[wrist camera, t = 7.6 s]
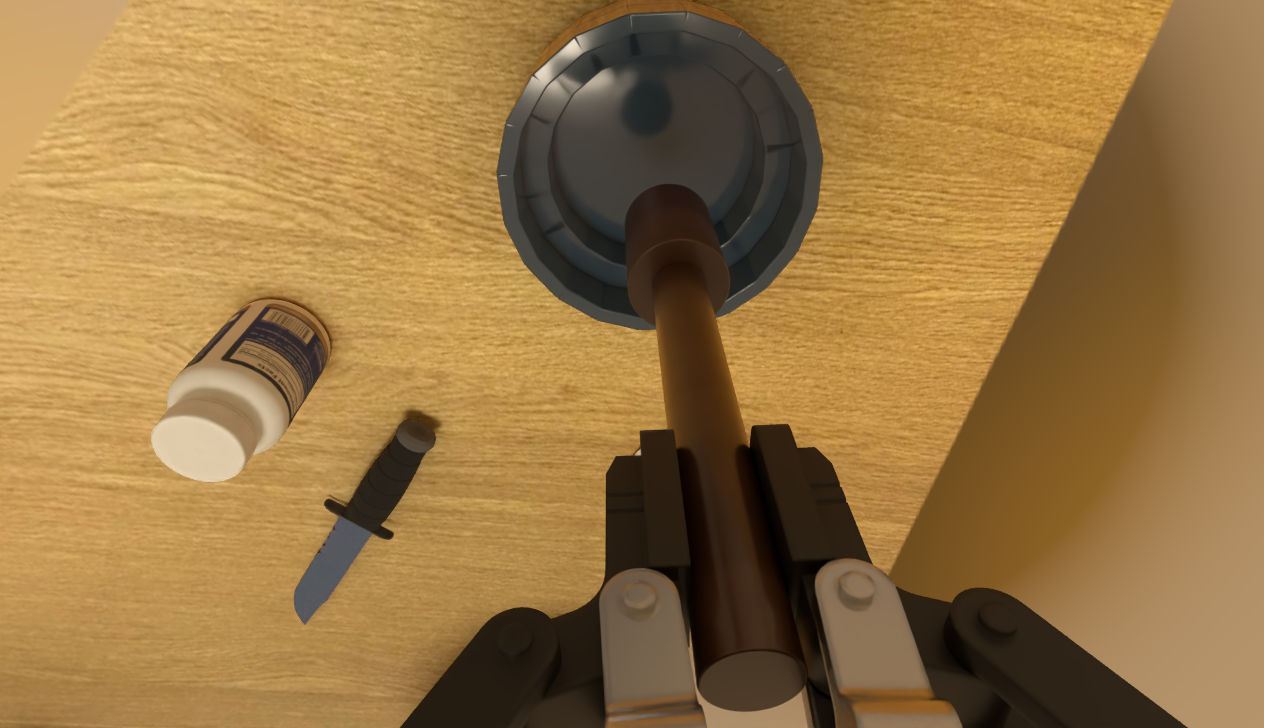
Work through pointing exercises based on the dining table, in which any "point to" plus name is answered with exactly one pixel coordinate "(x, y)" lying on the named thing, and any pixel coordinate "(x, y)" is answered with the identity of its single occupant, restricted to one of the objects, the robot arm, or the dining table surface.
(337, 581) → the knife
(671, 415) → the muddler
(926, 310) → the dining table surface
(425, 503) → the dining table surface
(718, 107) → the bowl
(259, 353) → the pill bottle
